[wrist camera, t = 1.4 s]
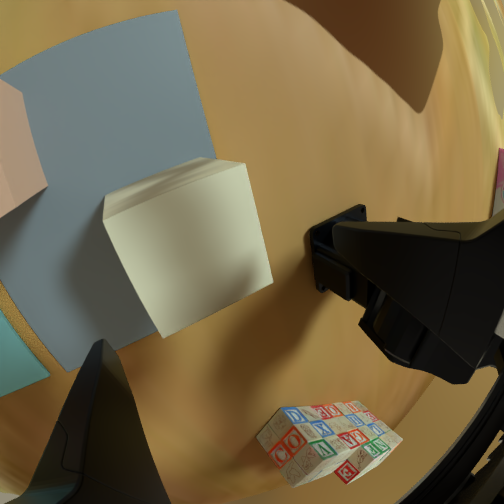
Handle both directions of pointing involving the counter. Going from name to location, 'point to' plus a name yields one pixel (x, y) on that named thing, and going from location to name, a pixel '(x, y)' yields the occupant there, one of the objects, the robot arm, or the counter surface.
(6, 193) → the terracotta block
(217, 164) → the maple block
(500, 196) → the gum box
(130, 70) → the card
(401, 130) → the counter surface
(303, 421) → the stack of blocks
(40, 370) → the teal pad
